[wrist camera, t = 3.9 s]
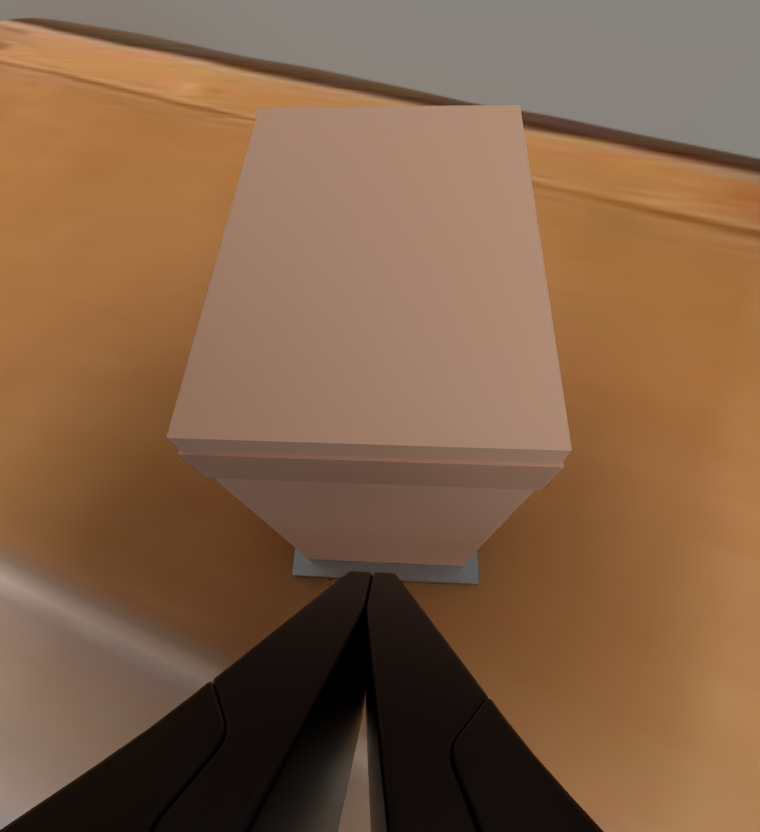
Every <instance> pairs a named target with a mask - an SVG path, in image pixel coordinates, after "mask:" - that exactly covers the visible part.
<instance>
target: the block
mask: <svg viewBox="0 0 760 832" xmlns="http://www.w3.org/2000/svg"><path fill="white" fill-rule="evenodd" d="M166 438H167V439H168V440H169V441H170V442H171V443H173V444H174V445H175V446H176V447H177V448H179V449H178V453H177V455H178V456H180V457H181V458H182V459H183V460H184V461H186V462H187V463H188V464H189V465H191V466H192V467H193V468H194V469H195V470H197V471H198V472H199V473H200V474H202V475H203V476H204V477H205V478H214V479H215V480H216V481H217V482H218V483H220V484H221V485H222V486H223V487H224V488H225V489H227V490H228V491H229V492H230V493H231V494H233V495H234V496H235V497H236V498H237V499H238V500H240V501H241V502H242V503H243V504H244V505H245V506H247V507H248V508H249V509H250V510H251V511H252V512H254V513H255V514H256V515H257V516H258V517H260V518H261V519H262V520H263V521H264V522H265V523H267V524H268V525H269V526H270V527H271V528H272V529H274V530H275V531H276V532H277V533H278V534H279V535H281V536H282V537H283V538H284V539H285V540H287V541H288V542H289V543H290V544H291V545H292V546H294V547H295V548H296V549H297V550H298V551H299V552H301V553H302V554H303V555H304V556H305V557H306V558H308V559H315V560H337V561H359V562H381V563H403V564H425V565H447V566H463V565H464V564H465V563H466V562H467V561H468V560H469V559H470V558H471V557H472V556H473V555H474V554H475V553H476V552H477V551H478V549H479V548H480V547H481V546H482V545H483V544H484V543H485V542H486V541H487V540H488V539H489V538H490V537H491V536H492V535H493V534H494V533H495V532H496V530H497V529H498V528H499V527H500V526H501V525H502V524H503V523H504V522H505V521H506V520H507V519H508V518H509V517H510V516H511V515H512V514H513V513H514V512H515V510H516V509H517V508H518V507H519V506H520V505H521V504H522V503H523V502H524V501H525V500H526V499H527V498H528V497H529V496H530V495H531V494H532V493H533V491H534V490H542V489H543V488H544V487H545V486H546V485H547V484H548V483H549V482H550V481H551V480H552V479H553V478H554V477H555V476H556V475H557V474H558V473H559V472H560V471H561V470H562V469H563V468H564V462H563V460H564V459H565V458H566V457H567V456H568V455H569V453H570V452H571V451H572V447H571V440H570V434H569V427H568V421H567V414H566V407H565V401H564V394H563V387H562V381H561V374H560V367H559V361H558V354H557V348H556V341H555V334H554V328H553V321H552V314H551V308H550V301H549V294H548V288H547V281H546V275H545V268H544V261H543V255H542V248H541V241H540V235H539V228H538V221H537V215H536V208H535V202H534V195H533V188H532V182H531V175H530V168H529V162H528V155H527V148H526V142H525V135H524V129H523V122H522V115H521V109H520V105H485V106H368V107H259V110H258V114H257V117H256V121H255V124H254V128H253V131H252V135H251V139H250V142H249V146H248V149H247V153H246V156H245V160H244V163H243V167H242V170H241V174H240V178H239V181H238V185H237V188H236V192H235V195H234V199H233V202H232V206H231V209H230V213H229V217H228V220H227V224H226V227H225V231H224V234H223V238H222V241H221V245H220V249H219V252H218V256H217V259H216V263H215V266H214V270H213V273H212V277H211V280H210V284H209V288H208V291H207V295H206V298H205V302H204V305H203V309H202V312H201V316H200V319H199V323H198V327H197V330H196V334H195V337H194V341H193V344H192V348H191V351H190V355H189V359H188V362H187V366H186V369H185V373H184V376H183V380H182V383H181V387H180V390H179V394H178V398H177V401H176V405H175V408H174V412H173V415H172V419H171V422H170V426H169V429H168V433H167V437H166Z"/></svg>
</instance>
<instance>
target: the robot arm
mask: <svg viewBox="0 0 760 832" xmlns="http://www.w3.org/2000/svg"><path fill="white" fill-rule="evenodd" d="M365 695H366V729H367V752H368V774H369V797H370V820H371V832H604V831H603V830H602V829H601V828H600V827H599V826H598V825H597V824H596V823H595V822H594V821H593V820H592V818H591V817H590V816H589V815H588V814H587V813H586V812H585V811H584V810H583V809H582V808H581V807H580V806H579V804H578V803H577V802H576V801H575V800H574V799H573V798H572V797H571V796H570V795H569V793H568V792H567V791H566V790H565V789H564V788H563V787H562V786H561V784H560V783H559V782H558V781H557V780H556V779H555V778H554V777H553V775H552V774H551V773H550V772H549V771H548V770H547V769H546V767H545V766H544V765H543V764H542V763H541V762H540V761H539V760H538V758H537V757H536V756H535V755H534V754H533V753H532V751H531V750H530V749H529V748H528V746H527V745H526V744H525V743H524V741H523V740H522V739H521V738H520V736H519V735H518V734H517V733H516V731H515V730H514V729H513V728H512V726H511V725H510V724H509V723H508V721H507V720H506V719H505V717H504V716H503V715H502V713H501V712H500V711H499V709H498V708H497V707H496V705H495V704H494V703H493V701H492V700H491V699H488V696H487V695H486V693H485V692H484V691H483V689H482V688H481V687H480V685H479V684H478V683H477V681H476V680H475V679H474V677H473V676H472V675H471V673H470V672H469V671H468V669H467V668H466V667H465V665H464V664H463V663H462V661H461V660H460V659H459V657H458V656H457V655H456V653H455V652H454V651H453V649H452V648H451V647H450V645H449V644H448V643H447V641H446V640H445V639H444V637H443V636H442V635H441V633H440V632H439V631H438V629H437V628H436V627H435V625H434V624H433V623H432V621H431V620H430V619H429V617H428V616H427V615H426V613H425V612H424V611H423V609H422V608H421V607H420V605H419V604H418V603H417V601H416V600H415V599H414V597H413V596H412V595H411V593H410V592H409V591H408V589H407V588H406V587H405V585H404V584H403V583H402V581H401V580H400V579H399V577H398V576H397V575H396V574H395V573H387V572H375V573H374V574H373V575H372V574H371V573H370V572H364V571H350V572H348V573H346V574H345V575H344V576H343V577H341V578H340V579H339V580H338V581H336V582H335V583H334V584H333V585H331V586H330V587H329V588H328V589H326V590H325V591H324V592H323V593H321V594H320V595H319V596H318V597H316V598H315V599H314V600H313V601H311V602H310V603H309V604H308V605H306V606H305V607H304V608H303V609H301V610H300V611H299V612H298V613H296V614H295V615H294V616H293V617H291V618H290V619H289V620H287V621H286V622H285V623H284V624H282V625H281V626H280V627H279V628H277V629H276V630H275V631H274V632H272V633H271V634H270V635H269V636H267V637H266V638H265V639H264V640H262V641H261V642H260V643H259V644H257V645H256V646H255V647H254V648H252V649H251V650H250V651H249V652H247V653H246V654H245V655H244V656H242V657H241V658H240V659H239V660H237V661H236V662H235V663H234V664H232V665H231V666H230V667H229V668H227V669H226V670H225V671H224V672H222V673H221V674H220V675H219V676H217V677H216V678H215V679H214V680H213V683H212V682H209V683H207V684H206V685H205V686H203V687H202V688H201V689H200V690H198V691H197V692H196V693H195V694H193V695H192V696H191V697H189V698H188V699H187V700H186V701H184V702H183V703H182V704H180V705H179V706H178V707H176V708H175V709H174V710H172V711H171V712H170V713H169V714H167V715H166V716H165V717H163V718H162V719H161V720H159V721H158V722H157V723H155V724H154V725H153V726H151V727H150V728H149V729H147V730H146V731H145V732H143V733H142V734H140V735H139V736H137V737H136V738H135V739H133V740H132V741H130V742H129V743H127V744H126V745H125V746H123V747H122V748H120V749H119V750H117V751H116V752H115V753H113V754H112V755H110V756H109V757H107V758H106V759H105V760H103V761H102V762H100V763H99V764H97V765H96V766H94V767H93V768H91V769H90V770H89V771H87V772H86V773H84V774H83V775H81V776H80V777H78V778H77V779H75V780H74V781H72V782H71V783H69V784H68V785H66V786H65V787H63V788H62V789H60V790H59V791H57V792H56V793H54V794H53V795H51V796H50V797H49V798H47V799H46V800H44V801H43V802H41V803H40V804H38V805H37V806H35V807H34V808H32V809H31V810H29V811H28V812H26V813H25V814H23V815H22V816H20V817H19V818H17V819H16V820H14V821H13V822H11V823H10V824H8V825H7V826H6V827H4V828H3V829H1V830H0V832H338V827H339V823H340V818H341V813H342V809H343V804H344V799H345V795H346V790H347V785H348V781H349V776H350V771H351V767H352V762H353V757H354V752H355V748H356V743H357V738H358V734H359V729H360V724H361V720H362V715H363V709H364V704H365Z"/></svg>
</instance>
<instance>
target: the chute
mask: <svg viewBox="0 0 760 832" xmlns="http://www.w3.org/2000/svg"><path fill="white" fill-rule="evenodd" d="M350 571H364V572H370V573H371V574H372V575H373V574H374V573H375V572H387V573H395V574H396V575H397V576H398V577H399V579H400V580H401V581H402V582H417V583H438V584H459V585H478V584H479V573H478V551H477V552H476V553H475V554H474V555H473V556H472V557H471V558H470V559H469V560H468V561H467V562H466V563H465V564H464V565H463V566H447V565H425V564H403V563H381V562H359V561H337V560H315V559H308V558H306V557H305V556H304V555H303V554H302V553H301V552H299V551H298V550H297V549H296V548H295V553H294V561H293V569H292V575H293V576H295V577H313V578H334V579H340V578H341V577H343V576H344V575H345V574H346V573H348V572H350Z"/></svg>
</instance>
